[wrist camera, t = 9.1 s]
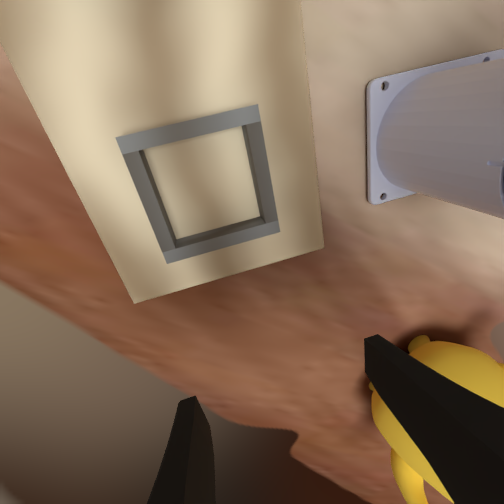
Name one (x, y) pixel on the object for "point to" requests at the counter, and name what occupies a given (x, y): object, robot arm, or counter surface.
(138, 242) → the socket board
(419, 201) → the counter surface
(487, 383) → the teapot
